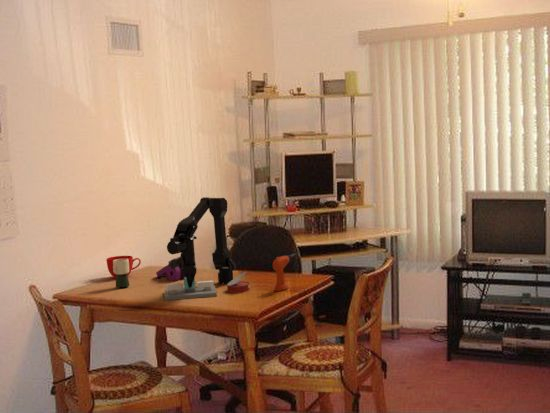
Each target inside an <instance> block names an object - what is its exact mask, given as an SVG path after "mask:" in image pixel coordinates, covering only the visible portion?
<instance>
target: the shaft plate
mask: <svg viewBox="0 0 550 413" xmlns="http://www.w3.org/2000/svg"><path fill="white" fill-rule="evenodd" d="M196 283H197V286H195V288H194V289H185V287H184V283H182V282H178V283H172V284H171V283H170V284H166V285H165V289H164V295H163V296H164V297H163V299H164V301H172V300H184V299H186V300H187V299H199V298H207V297H208V298H212V297H213V298H214V297H217V296H218V295H217V290H216V286H215V283H214V280H205V281H204V280H203V281H197V282H196Z"/></svg>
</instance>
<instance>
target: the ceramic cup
mask: <svg viewBox="0 0 550 413" xmlns="http://www.w3.org/2000/svg"><path fill="white" fill-rule="evenodd" d="M116 259H128V260H129V273H127V276H128V277H129V276H130V274H131V273H132V271H133V270H135V269H137V268H138V267H140V265H141V263H142V261H141V259H140V258H139V257H135V258H134V257H133V255H115V256H110V257H107V258H106V266H107V270H108V272H109V274H110V275H111V276H112V277H113V278H114V279H116V276H117V274H115V273H114V272H113V260H116ZM136 260H138V263H137V265H136V266H134V262H135V261H136ZM133 266H134V267H133Z"/></svg>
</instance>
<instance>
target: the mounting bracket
mask: <svg viewBox="0 0 550 413" xmlns="http://www.w3.org/2000/svg"><path fill="white" fill-rule="evenodd" d="M155 274H156V277H157V278H162V276H163V277H167V279H168V280H169V281H171V280H173V281H172V282H175V280H176V281H179V280H180V279H184V277H186V276H185V275H184V274H182V266H181V265H180V266H178V267H175V268H174V269H171V268H170V265H169V263H168V264H167V265H165V266H164V267H162V268H161V269H159V270H158V271H156V272H155Z"/></svg>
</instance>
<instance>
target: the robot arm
mask: <svg viewBox="0 0 550 413" xmlns="http://www.w3.org/2000/svg"><path fill="white" fill-rule="evenodd" d="M199 200H200V201H199V202H198V203H197V205H196V206H195V207H194V208H193V210H192V211H191V212H190V213H189V215H188V216H187V217H185V218H183V219H182V220H180V221H179V222H178V224H177V225H176V228H175V231H174V234H173V237H171V238H170V239H169V242H167V246H166V249H167V252H168V253H169V254H170V255H178V254H180V256H178V257H176V258H172V259H170V260H169V261H168V264H169V265H170V268H171V269H174V268H175V267H178V266H180V265H181V266H182V274H184V275H185V276H186V279H187V283H188V286H189V288H190V287H192V284H193V281H194V278H195V277H196V275H197V271H198V270H197V266H196V264H197V263H196V257H195V256H196V254H195V241H194V240H197V236H196V235H194V234H195V233H196V232H197V230H198V228H199V227H198V224H199V222H200V220H201V219H202V218H203V217H204V215H205V214H206V212H207V211H208V210H209V213H210V215H211V216H212V217H213V225H214V226H213V228H214V239H215V250H214V252H212V254H211V256H212V262H213V264H214V268H215V270H217V271H218V272H217V281H218V283H219V284H220V285H223V284H228V283H229V282H230V281H232V280H233V279H234V270H236V269H237V263H236V262H235V260H234V259H233V258H232V253H231V251H230V250H229V248H228V243H227V232H226V221H225V220H226V219H225V216H226V214H227V212H228V200H227V199H226V198H225V197H210V196H209V197H208V196H206V197H204V196H203V197H201V198H200V199H199ZM195 279H196V278H195Z"/></svg>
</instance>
